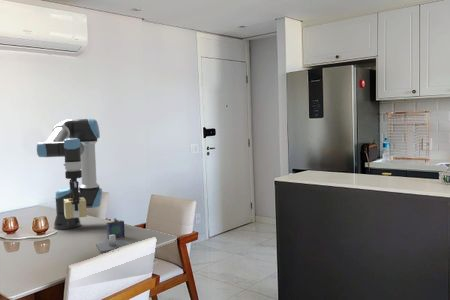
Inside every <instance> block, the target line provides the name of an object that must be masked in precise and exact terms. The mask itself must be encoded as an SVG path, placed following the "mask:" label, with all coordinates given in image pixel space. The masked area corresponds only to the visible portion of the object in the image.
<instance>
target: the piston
mask: <svg viewBox="0 0 450 300" xmlns="http://www.w3.org/2000/svg"><path fill="white" fill-rule="evenodd" d="M95 245H96V247H97V249H98V251H99V252H100V254H104V253H105V252H106V253H109V252H108V251H111V250H114V249H117V248H119V247H122V246H125V245H129V244H128V243H127V242H126V241H125V240H124V239H118V240H117V238H116V235H109V239H108V241H104V242H98V243H95Z"/></svg>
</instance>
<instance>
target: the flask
mask: <svg viewBox="0 0 450 300" xmlns="http://www.w3.org/2000/svg"><path fill="white" fill-rule="evenodd" d="M109 235H116V239H121V238H122V239H123V238H125V221H124V220H120V219H119V220H118V219H117V218H116V217H114V218H113V221H107V222H106V236H107V237H106V238H107V240H109Z"/></svg>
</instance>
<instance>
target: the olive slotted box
mask: <svg viewBox="0 0 450 300" xmlns="http://www.w3.org/2000/svg"><path fill="white" fill-rule="evenodd" d="M72 203H73V198H70V199H64V215H65V218H66V219H70V218H74V217H73V204H72ZM79 215H80V217H75V218H79V219H80V218H87V215H88V214H87V208H86V200H85V199H84V197H81V198H79Z"/></svg>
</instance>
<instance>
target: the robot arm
mask: <svg viewBox="0 0 450 300" xmlns="http://www.w3.org/2000/svg"><path fill="white" fill-rule="evenodd" d="M100 137H101V135H100V127H99V123H98V121H97V120H96V119H94V118H93V119H92V118H82V119H81V118H78V119H75V118H74V119H71V118H70V119H65V120H63V121H61V122H59V123H57V124H55V126H54V127H53V128H52V133H51V134H50V136H49V137H48V139H47V140H46V141H42V142H37V145H36V154H37V156H38V158H57V157H58V158H60V157H61V158H62V157H63V158H64V163H63V166H64V169H65V173H64V174H65V179H67V180H69V181H68V182H69V187H64V188H61V189H60V188H59V189H58V190H56V192H55V211H56V216H55V220H54V222H53V228H54V229H55V228H56V229H55V230H71V229H75V228H78V227H80V226H81V220H80V218H81V217H80V215H79V198H81V197H84V199H85V200H86V209H95V208H100V206H101V203H102V198H103V189H102V188H100V184H98V182H97V163H96V160H97V159H96V143H97V142H98V139H100ZM80 178H81V184H80V183H79V181H78V179H80ZM70 198H73V203H72V204H73V217H74V218H70V219H66V218H65V215H64V199H70ZM75 217H79V218H75Z"/></svg>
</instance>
